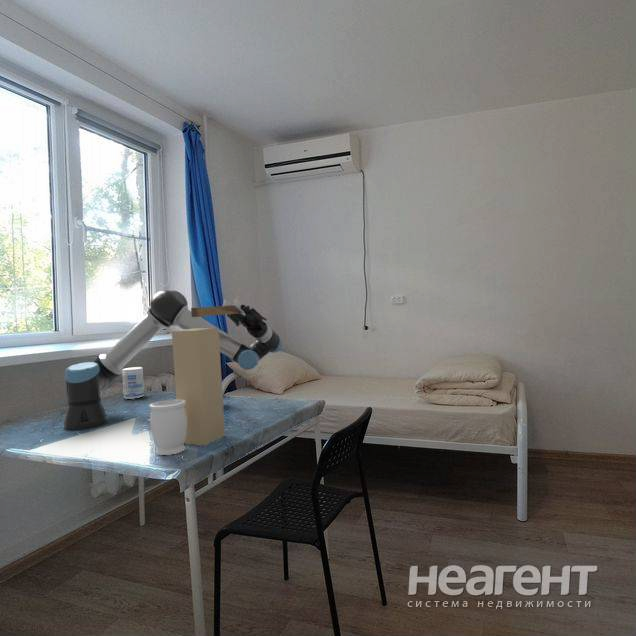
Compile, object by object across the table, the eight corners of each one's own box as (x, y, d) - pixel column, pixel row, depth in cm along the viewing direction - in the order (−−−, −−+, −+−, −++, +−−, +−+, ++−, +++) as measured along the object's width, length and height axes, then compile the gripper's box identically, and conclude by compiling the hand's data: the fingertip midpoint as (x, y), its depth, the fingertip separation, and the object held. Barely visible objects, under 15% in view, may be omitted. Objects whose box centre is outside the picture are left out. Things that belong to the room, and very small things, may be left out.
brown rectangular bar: (191, 317, 155) (191, 307, 155) (236, 313, 180) (236, 305, 180) (201, 316, 154) (201, 307, 154) (245, 312, 179) (245, 304, 179)
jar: (158, 460, 137) (155, 408, 136) (148, 451, 145) (144, 403, 145) (194, 451, 143) (190, 401, 143) (182, 444, 152) (178, 397, 151)
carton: (179, 443, 152) (171, 331, 151) (200, 433, 162) (193, 328, 161) (205, 445, 148) (197, 330, 147) (225, 435, 158) (218, 327, 157)
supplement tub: (129, 400, 227) (127, 370, 227) (120, 399, 234) (118, 369, 233) (148, 397, 235) (146, 367, 234) (138, 395, 241) (136, 366, 240)
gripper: (243, 322, 197) (212, 294, 178) (280, 320, 190) (252, 292, 171) (239, 338, 194) (207, 312, 174) (276, 338, 187) (248, 310, 168)
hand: (229, 302), depth 173 cm, fingers closed on brown rectangular bar, 4 cm apart
